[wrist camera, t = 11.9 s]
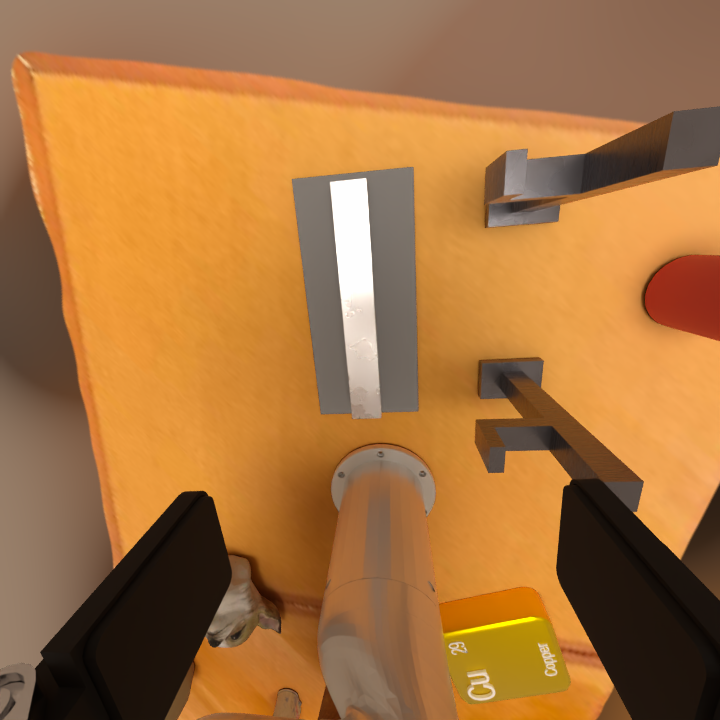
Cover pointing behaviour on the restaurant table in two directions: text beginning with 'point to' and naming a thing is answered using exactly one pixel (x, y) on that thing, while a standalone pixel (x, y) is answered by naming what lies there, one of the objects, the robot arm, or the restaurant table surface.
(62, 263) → the restaurant table surface
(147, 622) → the robot arm
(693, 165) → the hook stand
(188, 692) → the squeeze bottle
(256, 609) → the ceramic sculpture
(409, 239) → the mat
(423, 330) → the restaurant table surface
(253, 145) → the restaurant table surface
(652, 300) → the beer can
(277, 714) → the lighter
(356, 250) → the rail
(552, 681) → the element tile
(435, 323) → the restaurant table surface
